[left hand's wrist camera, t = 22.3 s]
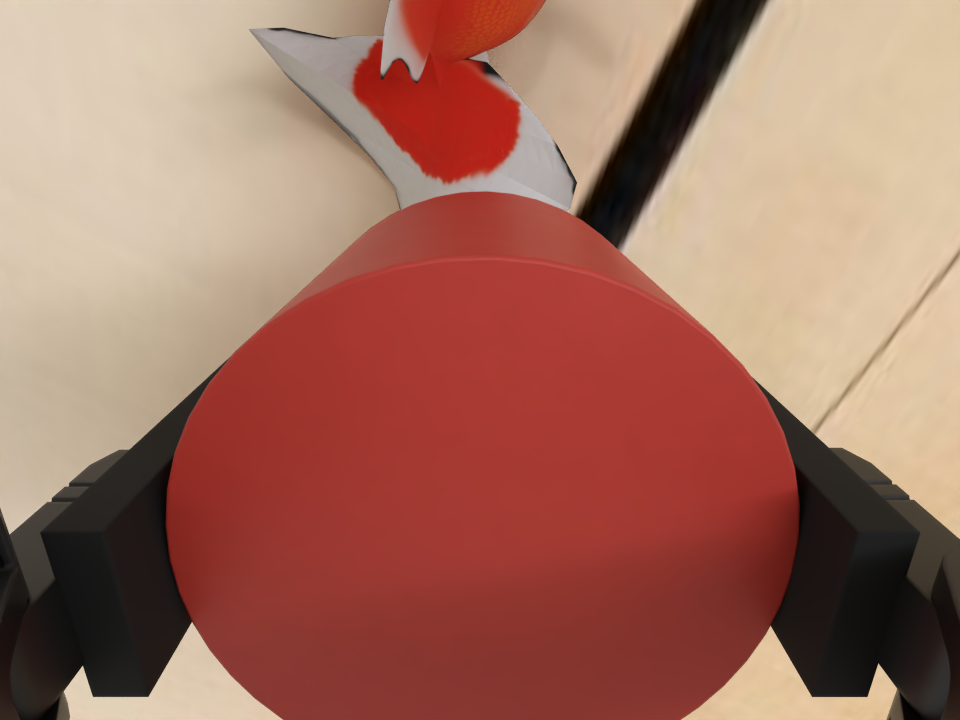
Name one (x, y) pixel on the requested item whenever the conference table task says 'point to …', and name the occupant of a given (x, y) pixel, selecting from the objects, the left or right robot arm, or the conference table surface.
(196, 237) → the conference table surface
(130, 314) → the conference table surface
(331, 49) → the fish
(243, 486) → the canister
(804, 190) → the conference table surface
